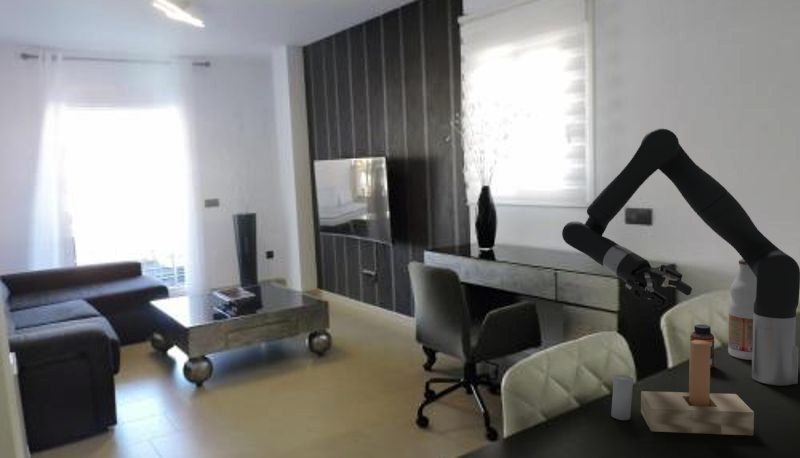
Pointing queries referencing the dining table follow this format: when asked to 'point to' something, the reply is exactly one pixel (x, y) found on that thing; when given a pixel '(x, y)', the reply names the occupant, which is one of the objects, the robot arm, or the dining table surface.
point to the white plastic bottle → (742, 313)
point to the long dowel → (699, 373)
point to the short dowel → (622, 397)
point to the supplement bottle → (704, 338)
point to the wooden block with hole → (696, 414)
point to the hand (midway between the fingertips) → (678, 297)
